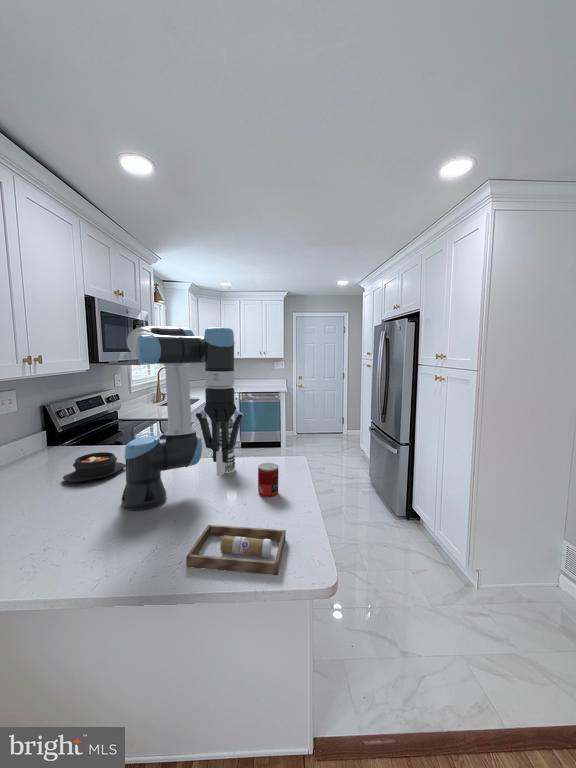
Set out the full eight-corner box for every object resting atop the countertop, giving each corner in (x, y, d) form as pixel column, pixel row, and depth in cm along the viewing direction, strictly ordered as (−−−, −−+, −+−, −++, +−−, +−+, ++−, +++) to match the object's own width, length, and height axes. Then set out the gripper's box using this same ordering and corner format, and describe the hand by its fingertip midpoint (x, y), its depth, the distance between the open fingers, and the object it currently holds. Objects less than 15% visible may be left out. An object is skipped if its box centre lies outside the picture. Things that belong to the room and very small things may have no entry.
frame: (186, 567, 84) (186, 556, 84) (208, 534, 100) (208, 524, 99) (277, 575, 82) (277, 563, 81) (285, 539, 97) (285, 530, 97)
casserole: (77, 490, 131) (76, 469, 130) (54, 480, 141) (53, 461, 140) (134, 471, 152) (134, 453, 151) (111, 463, 162) (111, 446, 161)
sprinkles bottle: (221, 535, 90) (269, 539, 88) (226, 534, 94) (272, 538, 92) (218, 554, 88) (268, 558, 86) (223, 552, 92) (271, 557, 90)
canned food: (275, 498, 125) (275, 470, 123) (255, 496, 126) (255, 468, 125) (280, 490, 132) (280, 463, 131) (261, 488, 134) (261, 462, 133)
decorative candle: (237, 472, 151) (237, 418, 149) (217, 474, 148) (216, 420, 145) (233, 466, 160) (233, 415, 157) (214, 468, 156) (213, 416, 154)
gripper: (190, 387, 84) (192, 477, 86) (240, 389, 82) (240, 480, 85) (201, 385, 91) (202, 467, 94) (247, 386, 90) (247, 469, 92)
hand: (220, 473), depth 89 cm, fingers closed
